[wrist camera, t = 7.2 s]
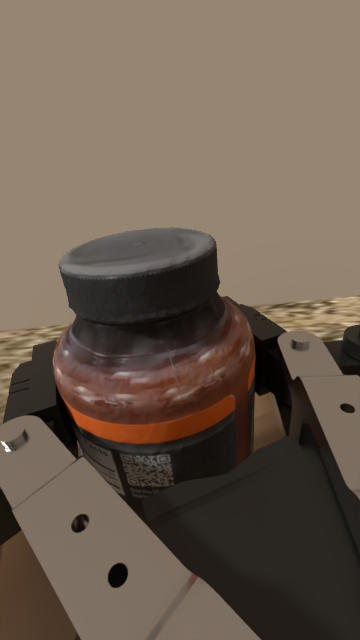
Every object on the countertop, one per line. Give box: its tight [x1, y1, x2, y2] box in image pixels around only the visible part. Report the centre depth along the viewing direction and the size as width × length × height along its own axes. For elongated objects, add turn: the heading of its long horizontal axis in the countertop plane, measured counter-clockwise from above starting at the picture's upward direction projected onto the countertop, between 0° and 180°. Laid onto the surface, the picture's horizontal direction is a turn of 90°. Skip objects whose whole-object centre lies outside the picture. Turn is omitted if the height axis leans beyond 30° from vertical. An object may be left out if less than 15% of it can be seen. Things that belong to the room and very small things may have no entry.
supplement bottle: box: [53, 228, 256, 518], centre depth 10 cm, size 6×6×11 cm
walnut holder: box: [0, 392, 282, 640], centre depth 14 cm, size 16×11×2 cm
